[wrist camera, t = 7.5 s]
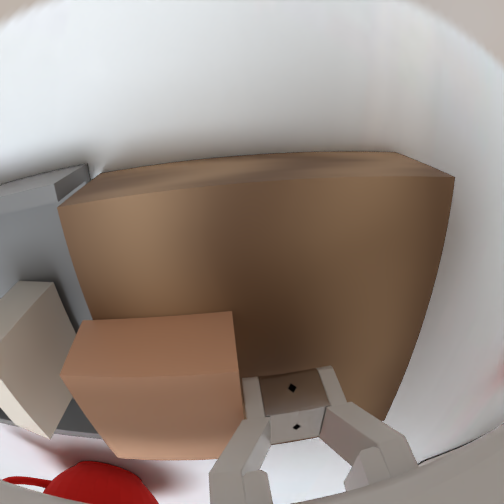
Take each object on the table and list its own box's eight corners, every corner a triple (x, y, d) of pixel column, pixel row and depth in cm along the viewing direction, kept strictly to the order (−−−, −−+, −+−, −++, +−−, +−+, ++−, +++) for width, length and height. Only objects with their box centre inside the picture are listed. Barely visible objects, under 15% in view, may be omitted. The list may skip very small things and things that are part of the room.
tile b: (231, 310, 10) (238, 371, 8) (241, 404, 12) (248, 456, 10) (82, 320, 9) (59, 375, 7) (125, 409, 12) (117, 458, 9)
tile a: (-13, 358, 7) (-44, 346, 8) (50, 439, 10) (15, 424, 10) (53, 282, 12) (19, 280, 12) (91, 363, 14) (56, 357, 14)
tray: (87, 163, 11) (53, 183, 8) (158, 400, 17) (154, 441, 15) (-80, 212, 10) (-111, 234, 7) (7, 390, 16) (-6, 421, 14)
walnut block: (395, 152, 12) (454, 177, 9) (360, 370, 18) (384, 420, 14) (100, 173, 11) (56, 207, 8) (164, 395, 17) (160, 452, 14)
